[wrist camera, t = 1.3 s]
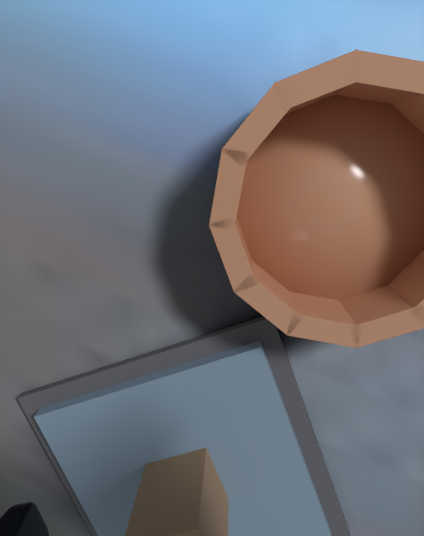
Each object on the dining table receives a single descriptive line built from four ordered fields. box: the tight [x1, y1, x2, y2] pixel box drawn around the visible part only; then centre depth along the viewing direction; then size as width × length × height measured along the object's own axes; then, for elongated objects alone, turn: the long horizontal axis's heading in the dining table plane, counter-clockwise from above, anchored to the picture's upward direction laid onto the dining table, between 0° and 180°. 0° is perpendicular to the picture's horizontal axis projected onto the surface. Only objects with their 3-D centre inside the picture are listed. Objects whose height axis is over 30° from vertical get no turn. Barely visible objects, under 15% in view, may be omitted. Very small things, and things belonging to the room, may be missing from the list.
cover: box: [34, 340, 332, 536], centre depth 21 cm, size 13×13×6 cm
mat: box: [17, 316, 350, 536], centre depth 24 cm, size 15×15×1 cm
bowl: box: [209, 50, 424, 348], centre depth 18 cm, size 11×11×4 cm
